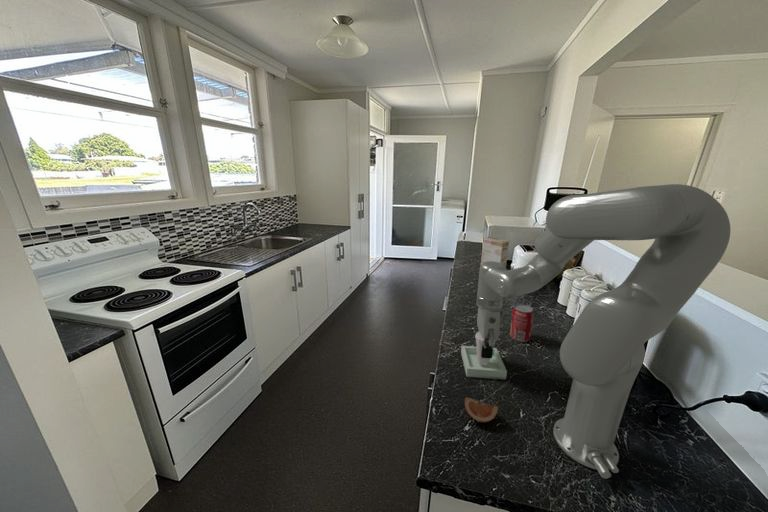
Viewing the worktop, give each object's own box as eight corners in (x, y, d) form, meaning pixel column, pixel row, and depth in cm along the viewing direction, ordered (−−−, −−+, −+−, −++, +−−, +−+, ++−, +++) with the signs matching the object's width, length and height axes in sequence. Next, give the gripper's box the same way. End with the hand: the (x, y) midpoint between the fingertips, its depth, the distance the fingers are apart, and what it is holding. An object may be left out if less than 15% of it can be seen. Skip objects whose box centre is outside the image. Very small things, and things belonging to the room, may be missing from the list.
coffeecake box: (505, 269, 182) (509, 241, 176) (499, 271, 179) (502, 242, 173) (487, 263, 194) (490, 236, 189) (480, 265, 191) (483, 238, 185)
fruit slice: (497, 412, 74) (499, 397, 73) (495, 433, 68) (498, 417, 67) (465, 402, 77) (466, 388, 76) (461, 421, 71) (463, 406, 70)
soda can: (532, 344, 103) (537, 313, 99) (511, 342, 104) (516, 311, 101) (526, 334, 110) (531, 304, 106) (507, 332, 111) (511, 303, 107)
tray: (505, 379, 86) (507, 371, 85) (466, 376, 87) (467, 368, 86) (495, 355, 97) (496, 348, 96) (460, 352, 98) (461, 345, 98)
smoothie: (480, 369, 88) (484, 331, 83) (469, 357, 93) (472, 320, 89) (497, 365, 89) (502, 327, 85) (485, 353, 95) (489, 317, 91)
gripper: (511, 315, 76) (503, 369, 82) (494, 290, 93) (489, 336, 98) (483, 314, 77) (477, 367, 82) (471, 289, 94) (467, 335, 99)
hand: (484, 350), depth 90 cm, fingers closed on smoothie, 6 cm apart
